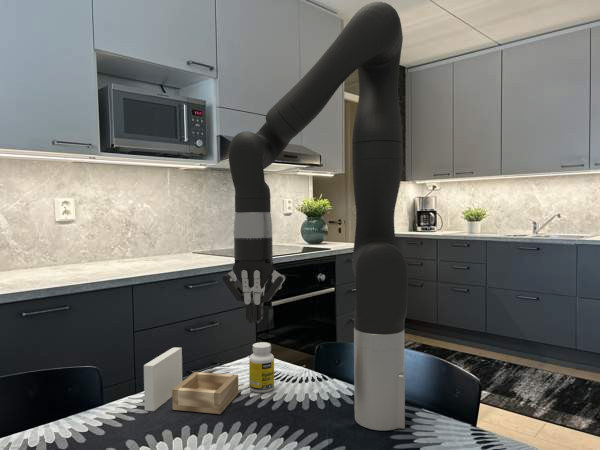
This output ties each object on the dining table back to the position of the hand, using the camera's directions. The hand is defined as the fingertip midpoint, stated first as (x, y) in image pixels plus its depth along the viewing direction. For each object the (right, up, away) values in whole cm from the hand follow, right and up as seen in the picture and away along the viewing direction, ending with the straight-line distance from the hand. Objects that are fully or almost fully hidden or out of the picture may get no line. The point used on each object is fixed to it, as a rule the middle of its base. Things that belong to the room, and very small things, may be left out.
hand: (254, 322), depth 91 cm
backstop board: (-19, -17, +5) cm, 26 cm away
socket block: (-10, -17, +3) cm, 20 cm away
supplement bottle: (+1, -17, +10) cm, 19 cm away
